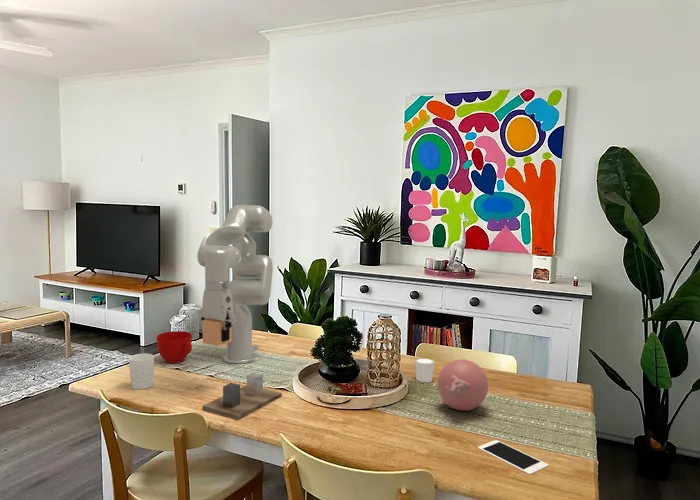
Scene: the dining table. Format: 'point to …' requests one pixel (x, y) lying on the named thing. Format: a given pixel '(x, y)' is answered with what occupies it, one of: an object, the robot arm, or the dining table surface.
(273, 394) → the walnut board
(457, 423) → the dining table surface
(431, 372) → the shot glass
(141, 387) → the white cup
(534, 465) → the cell phone
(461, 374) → the pink stress ball
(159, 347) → the ceramic cup
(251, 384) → the steel post
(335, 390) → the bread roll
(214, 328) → the peach cube
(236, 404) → the dark post
